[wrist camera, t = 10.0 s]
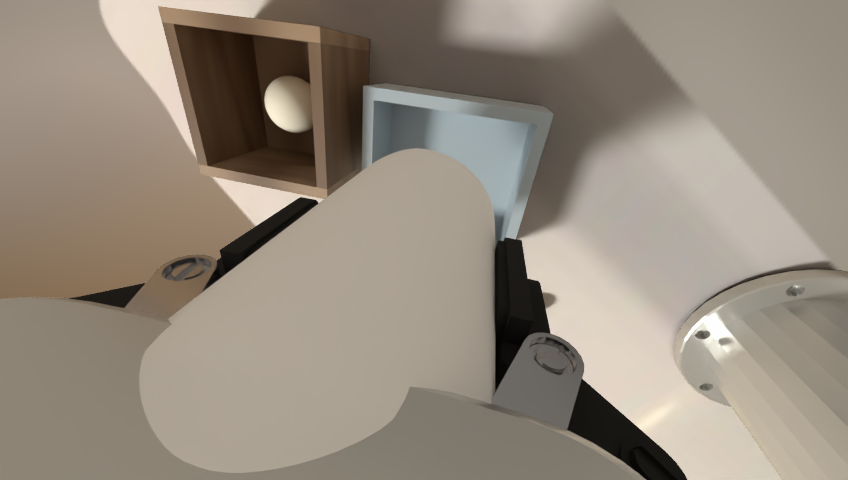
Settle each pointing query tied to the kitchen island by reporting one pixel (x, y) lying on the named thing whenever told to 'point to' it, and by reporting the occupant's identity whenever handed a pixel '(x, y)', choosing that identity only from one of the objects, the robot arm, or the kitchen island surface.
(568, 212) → the kitchen island surface
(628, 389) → the kitchen island surface
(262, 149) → the walnut box
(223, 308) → the can
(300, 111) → the cream ball
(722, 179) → the kitchen island surface
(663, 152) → the kitchen island surface
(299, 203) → the robot arm
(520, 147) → the light blue tray
